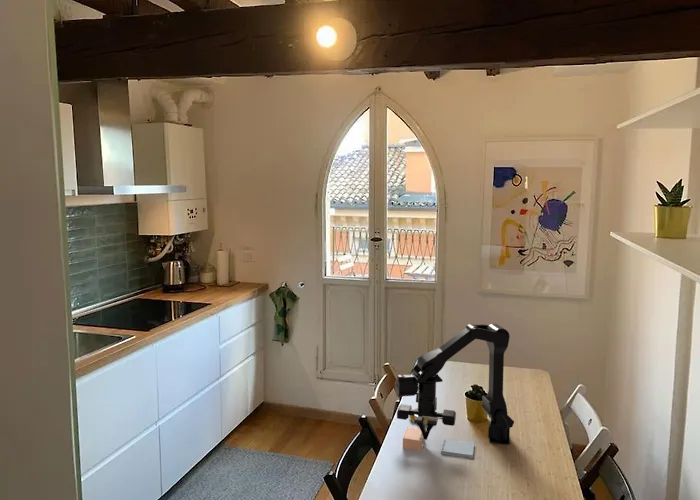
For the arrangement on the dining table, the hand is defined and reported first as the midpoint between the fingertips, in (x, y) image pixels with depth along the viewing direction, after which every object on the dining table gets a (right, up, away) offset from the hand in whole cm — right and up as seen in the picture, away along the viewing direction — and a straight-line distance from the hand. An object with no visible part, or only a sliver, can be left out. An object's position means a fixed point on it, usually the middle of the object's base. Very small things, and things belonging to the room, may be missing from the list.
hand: (425, 439), depth 179 cm
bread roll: (+1, 0, +19) cm, 19 cm away
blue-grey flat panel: (+10, -3, -2) cm, 11 cm away
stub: (-4, -2, +1) cm, 5 cm away
